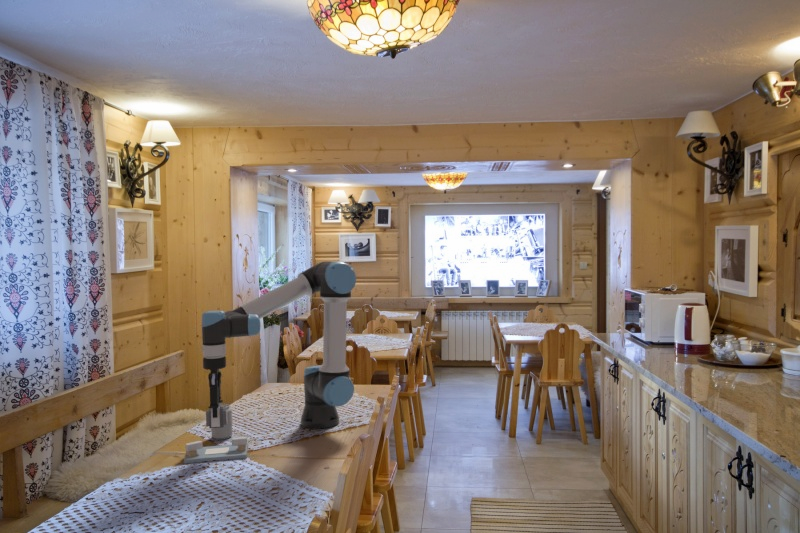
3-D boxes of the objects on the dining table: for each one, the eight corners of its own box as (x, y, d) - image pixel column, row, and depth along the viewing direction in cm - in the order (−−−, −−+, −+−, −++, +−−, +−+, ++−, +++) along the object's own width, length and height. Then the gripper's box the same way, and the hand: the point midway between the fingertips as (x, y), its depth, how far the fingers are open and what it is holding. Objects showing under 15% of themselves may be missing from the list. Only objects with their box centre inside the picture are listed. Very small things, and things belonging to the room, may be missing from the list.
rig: (248, 446, 214) (247, 432, 213) (246, 458, 202) (246, 443, 202) (188, 451, 210) (187, 437, 209) (183, 463, 198) (182, 448, 198)
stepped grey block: (206, 428, 203) (205, 411, 202) (207, 425, 207) (207, 407, 207) (226, 426, 204) (225, 409, 204) (227, 423, 208) (226, 406, 208)
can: (226, 441, 220) (225, 408, 220) (207, 440, 222) (206, 407, 221) (236, 434, 228) (235, 403, 227) (218, 433, 229) (217, 402, 229)
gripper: (205, 352, 212) (207, 418, 213) (199, 361, 195) (201, 432, 196) (227, 351, 214) (229, 416, 215) (223, 360, 197) (225, 431, 198)
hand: (216, 424), depth 205 cm, fingers closed on stepped grey block, 4 cm apart
